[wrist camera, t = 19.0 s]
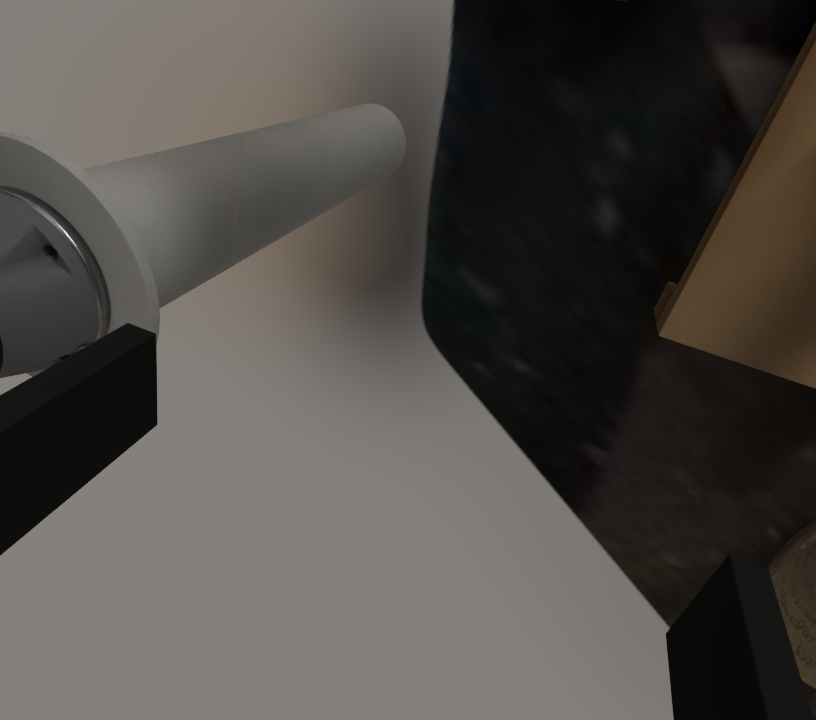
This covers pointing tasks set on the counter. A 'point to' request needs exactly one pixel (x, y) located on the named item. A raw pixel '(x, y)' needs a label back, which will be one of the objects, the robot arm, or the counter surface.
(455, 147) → the counter surface
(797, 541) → the bowl
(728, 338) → the shelf
